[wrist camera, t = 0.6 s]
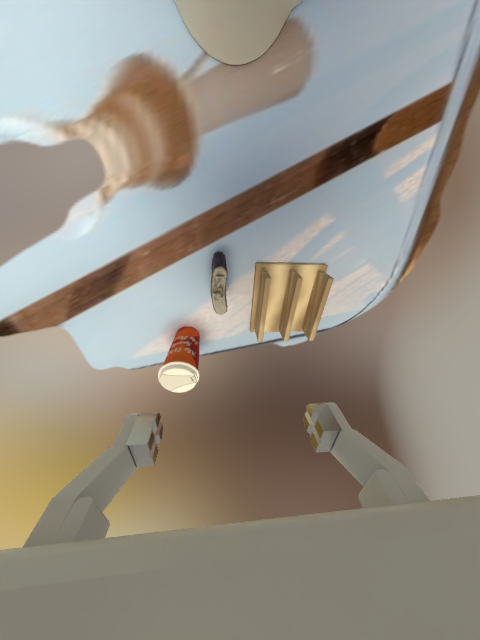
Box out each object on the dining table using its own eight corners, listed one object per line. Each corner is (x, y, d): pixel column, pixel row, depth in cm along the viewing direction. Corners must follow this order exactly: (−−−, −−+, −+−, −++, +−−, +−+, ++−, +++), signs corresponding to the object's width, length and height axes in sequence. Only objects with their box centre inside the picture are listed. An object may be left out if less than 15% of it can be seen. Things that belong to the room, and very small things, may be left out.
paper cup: (200, 321, 46) (193, 364, 34) (206, 345, 50) (202, 391, 38) (167, 325, 45) (149, 370, 34) (176, 349, 50) (163, 396, 38)
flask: (226, 294, 42) (227, 320, 33) (212, 294, 42) (210, 320, 33) (225, 251, 37) (227, 268, 28) (210, 250, 37) (207, 268, 28)
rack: (249, 329, 48) (253, 345, 43) (255, 262, 39) (261, 272, 34) (306, 328, 50) (316, 343, 45) (325, 264, 41) (340, 273, 36)
